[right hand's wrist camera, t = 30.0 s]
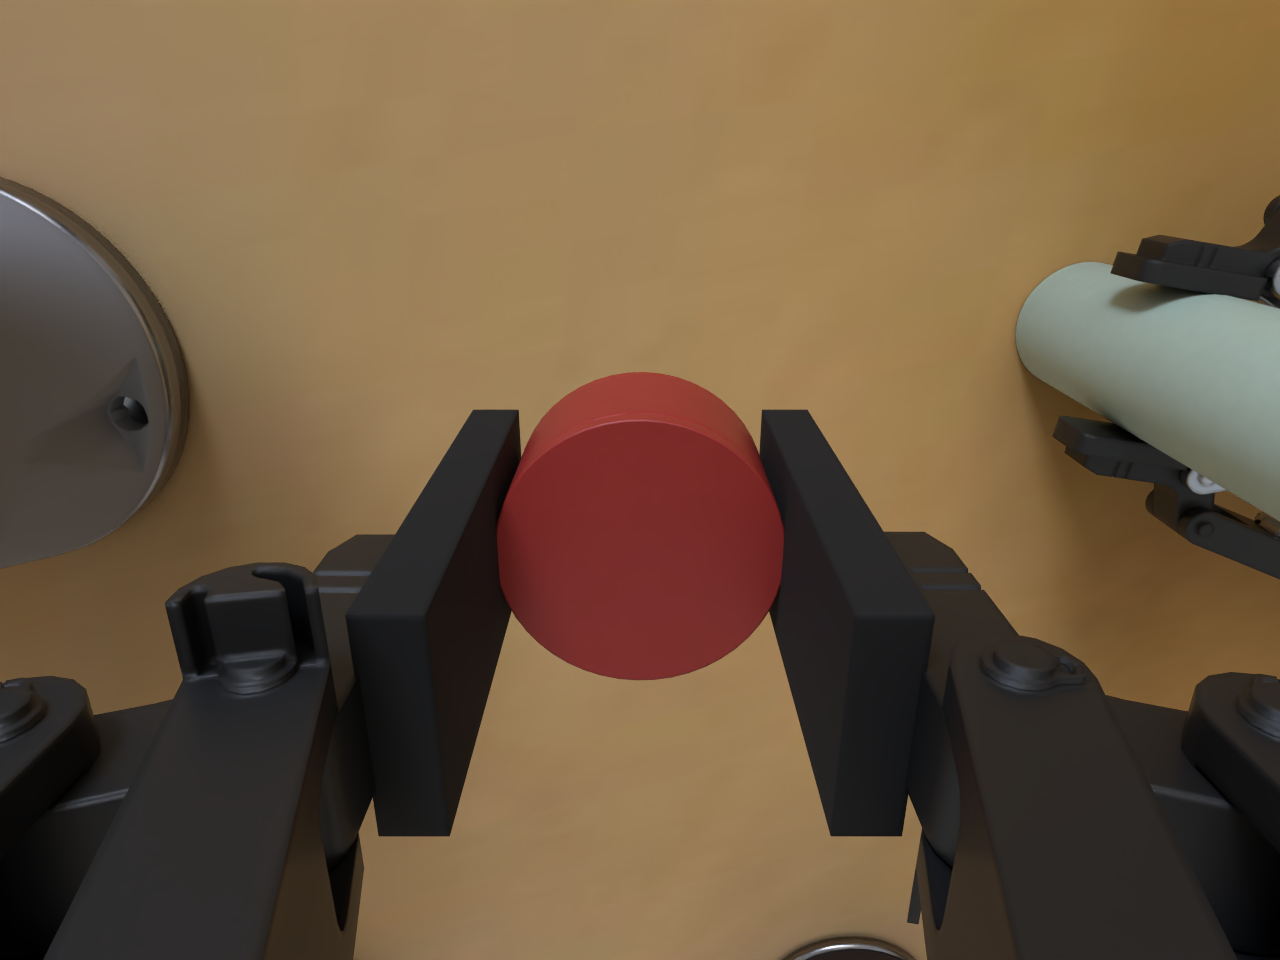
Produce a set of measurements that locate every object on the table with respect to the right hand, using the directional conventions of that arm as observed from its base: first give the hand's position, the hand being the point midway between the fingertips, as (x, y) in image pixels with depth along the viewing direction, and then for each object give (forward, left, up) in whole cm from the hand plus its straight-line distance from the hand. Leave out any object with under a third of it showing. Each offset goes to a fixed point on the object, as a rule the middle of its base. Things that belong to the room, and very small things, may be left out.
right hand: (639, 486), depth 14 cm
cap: (0, 0, +2) cm, 2 cm away
